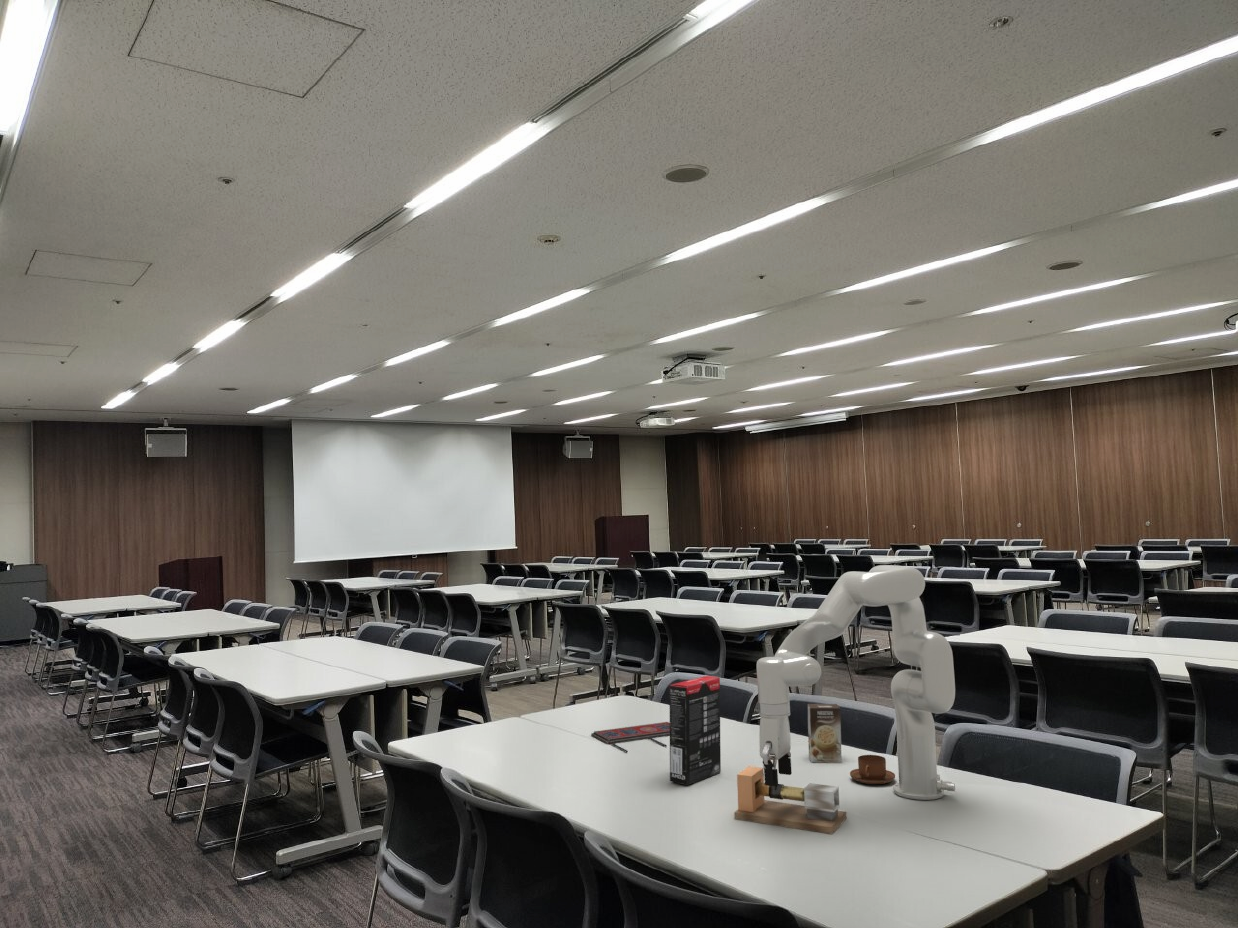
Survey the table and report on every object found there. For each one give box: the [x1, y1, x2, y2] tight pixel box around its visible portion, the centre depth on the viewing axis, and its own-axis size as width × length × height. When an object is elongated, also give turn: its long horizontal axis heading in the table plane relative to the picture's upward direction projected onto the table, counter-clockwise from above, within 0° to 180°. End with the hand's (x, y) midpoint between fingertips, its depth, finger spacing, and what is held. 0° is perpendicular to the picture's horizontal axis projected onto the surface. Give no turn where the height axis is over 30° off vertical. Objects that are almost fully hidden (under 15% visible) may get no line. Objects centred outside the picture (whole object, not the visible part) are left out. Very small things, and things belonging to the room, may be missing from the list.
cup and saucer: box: [849, 754, 896, 785], centre depth 239 cm, size 12×12×6 cm
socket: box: [736, 765, 765, 812], centre depth 215 cm, size 4×8×8 cm, turn 150°
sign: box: [590, 721, 670, 753], centre depth 291 cm, size 27×2×30 cm
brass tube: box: [755, 782, 805, 803], centre depth 211 cm, size 16×4×4 cm, turn 60°
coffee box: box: [807, 703, 843, 764], centre depth 261 cm, size 9×6×16 cm
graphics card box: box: [668, 675, 722, 786], centre depth 246 cm, size 17×7×27 cm, turn 141°
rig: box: [733, 782, 847, 835], centre depth 210 cm, size 24×12×8 cm, turn 60°
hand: (778, 779), depth 212 cm, fingers open, 9 cm apart
